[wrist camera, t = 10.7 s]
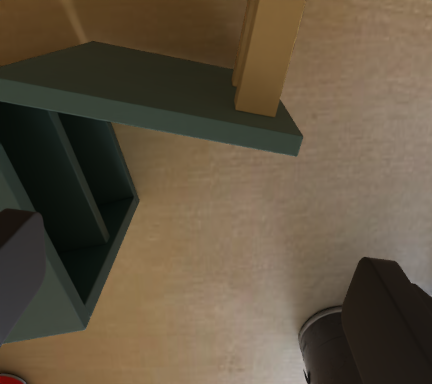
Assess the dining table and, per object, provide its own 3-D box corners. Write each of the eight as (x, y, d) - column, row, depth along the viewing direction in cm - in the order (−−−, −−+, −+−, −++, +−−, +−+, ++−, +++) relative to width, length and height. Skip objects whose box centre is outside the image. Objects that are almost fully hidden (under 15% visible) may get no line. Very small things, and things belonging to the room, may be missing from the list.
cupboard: (84, 49, 30) (-43, 90, 16) (139, 200, 36) (85, 330, 22) (-29, 79, 31) (-243, 141, 17) (43, 220, 37) (-68, 356, 23)
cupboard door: (97, -65, 26) (-45, -144, 12) (289, -22, 27) (361, -50, 13) (92, 54, 30) (-23, 97, 16) (262, 88, 31) (297, 157, 17)
